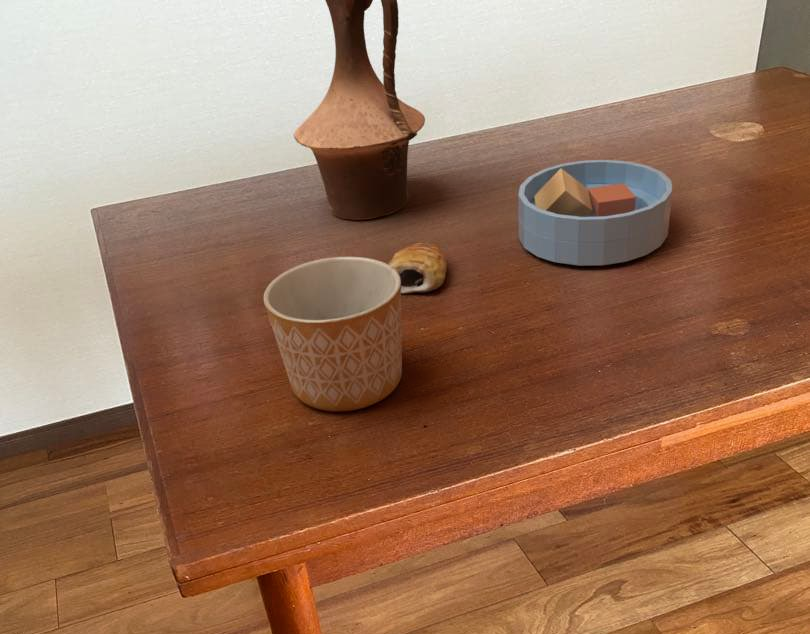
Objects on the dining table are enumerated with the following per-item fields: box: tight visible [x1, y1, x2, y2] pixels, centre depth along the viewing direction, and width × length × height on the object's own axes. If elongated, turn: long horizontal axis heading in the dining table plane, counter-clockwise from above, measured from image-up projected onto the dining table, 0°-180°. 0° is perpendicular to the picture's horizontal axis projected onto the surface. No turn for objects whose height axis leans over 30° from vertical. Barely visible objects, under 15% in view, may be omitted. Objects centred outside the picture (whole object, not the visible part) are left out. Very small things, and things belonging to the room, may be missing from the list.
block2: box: [587, 183, 636, 217], centre depth 105 cm, size 4×4×4 cm
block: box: [534, 168, 593, 217], centre depth 104 cm, size 4×4×4 cm
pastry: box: [387, 242, 448, 295], centre depth 102 cm, size 9×7×4 cm
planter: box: [263, 256, 403, 413], centre depth 84 cm, size 13×13×10 cm
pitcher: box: [293, 0, 426, 221], centre depth 111 cm, size 18×17×28 cm
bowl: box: [517, 159, 674, 267], centre depth 105 cm, size 17×17×6 cm
